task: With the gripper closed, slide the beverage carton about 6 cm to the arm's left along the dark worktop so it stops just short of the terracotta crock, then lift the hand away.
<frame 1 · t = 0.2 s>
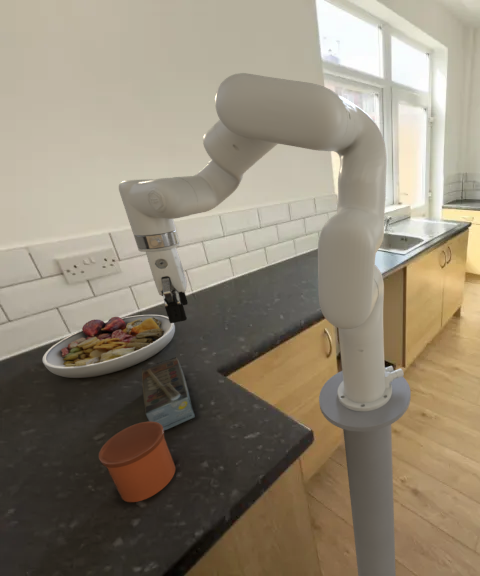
hand: (179, 313, 74), 19 cm above the countertop, tool pointing down, fingers open, 9 cm apart
terracotta crock: (149, 479, 55), on the countertop
food platter: (120, 352, 95), on the countertop
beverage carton: (171, 403, 74), on the countertop
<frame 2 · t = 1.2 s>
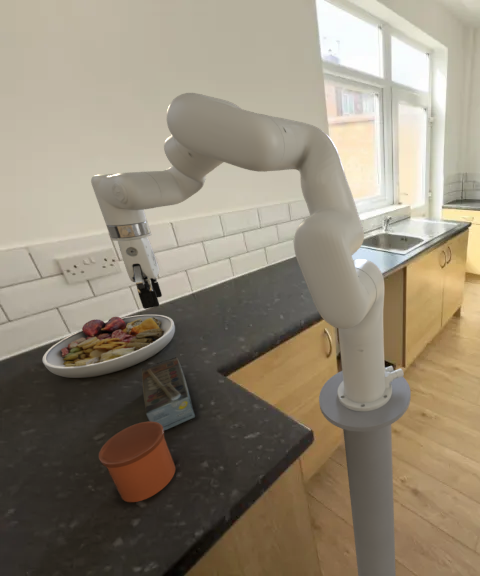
hand: (153, 301, 79), 20 cm above the countertop, tool pointing down, fingers open, 6 cm apart
nothing on the countertop moved.
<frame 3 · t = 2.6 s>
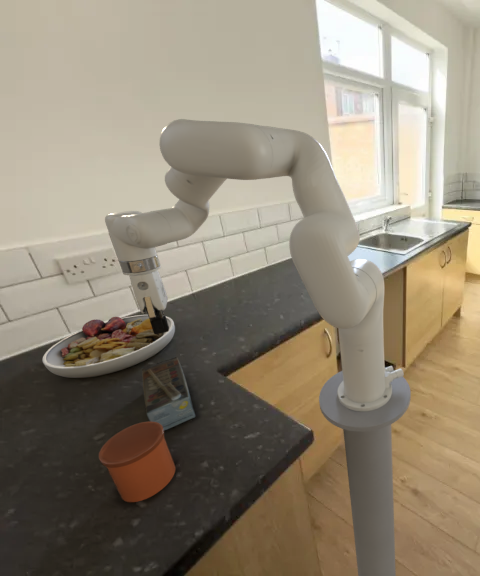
hand: (162, 331, 83), 11 cm above the countertop, tool pointing down, fingers closed
nothing on the countertop moved.
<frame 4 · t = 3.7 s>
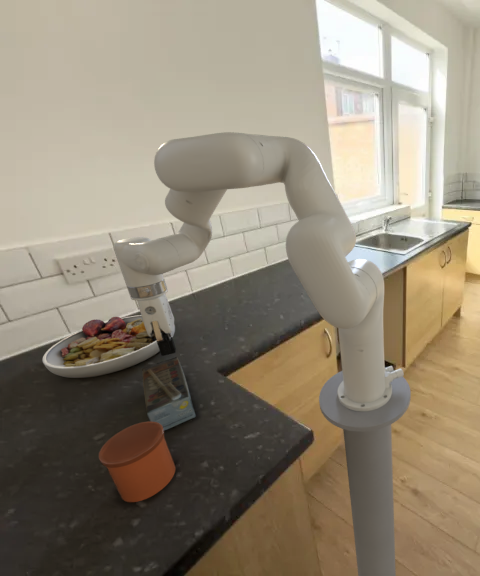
hand: (168, 352, 84), 5 cm above the countertop, tool pointing down, fingers closed
nothing on the countertop moved.
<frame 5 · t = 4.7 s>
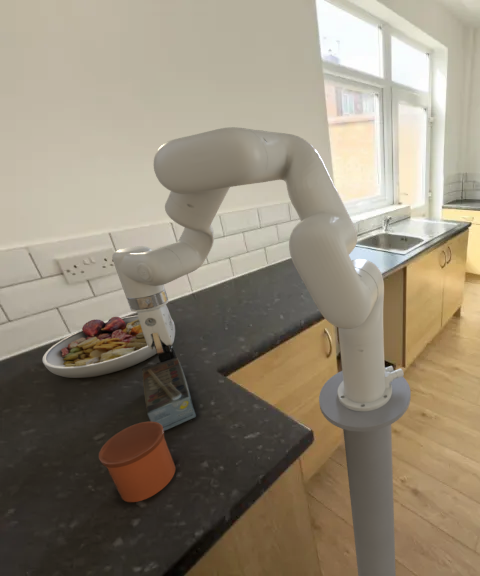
hand: (169, 364, 82), 4 cm above the countertop, tool pointing down, fingers closed
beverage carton: (171, 403, 74), on the countertop, touching gripper
everything else where it was.
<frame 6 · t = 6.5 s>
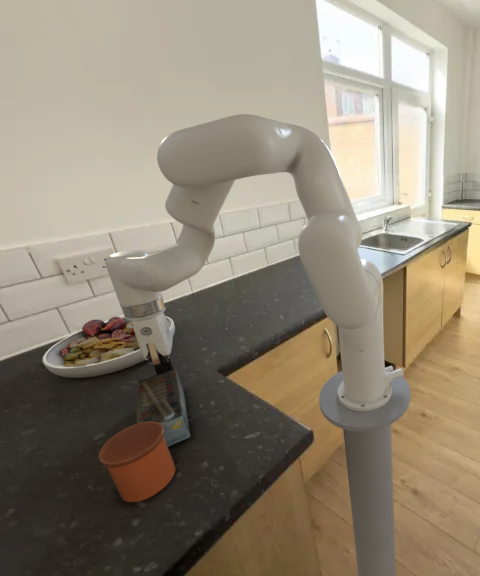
hand: (166, 375, 77), 4 cm above the countertop, tool pointing down, fingers closed
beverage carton: (167, 419, 69), on the countertop, touching gripper
everything else where it was.
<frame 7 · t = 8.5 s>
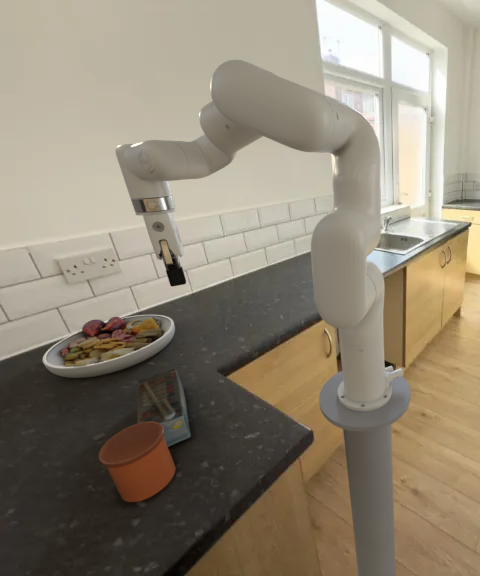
hand: (178, 284, 76), 25 cm above the countertop, tool pointing down, fingers closed
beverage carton: (167, 419, 69), on the countertop
everything else where it was.
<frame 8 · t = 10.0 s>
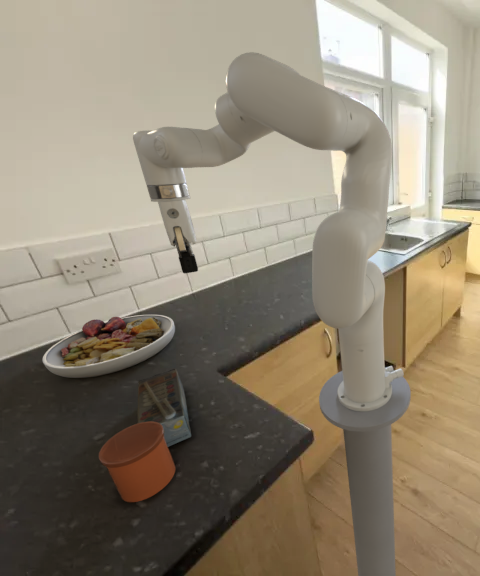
hand: (190, 271, 77), 27 cm above the countertop, tool pointing down, fingers closed
nothing on the countertop moved.
at the end: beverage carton inside the target area (0.8 cm from its centre), on the countertop; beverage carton moved 5.6 cm from its start; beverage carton tilted 2° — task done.
